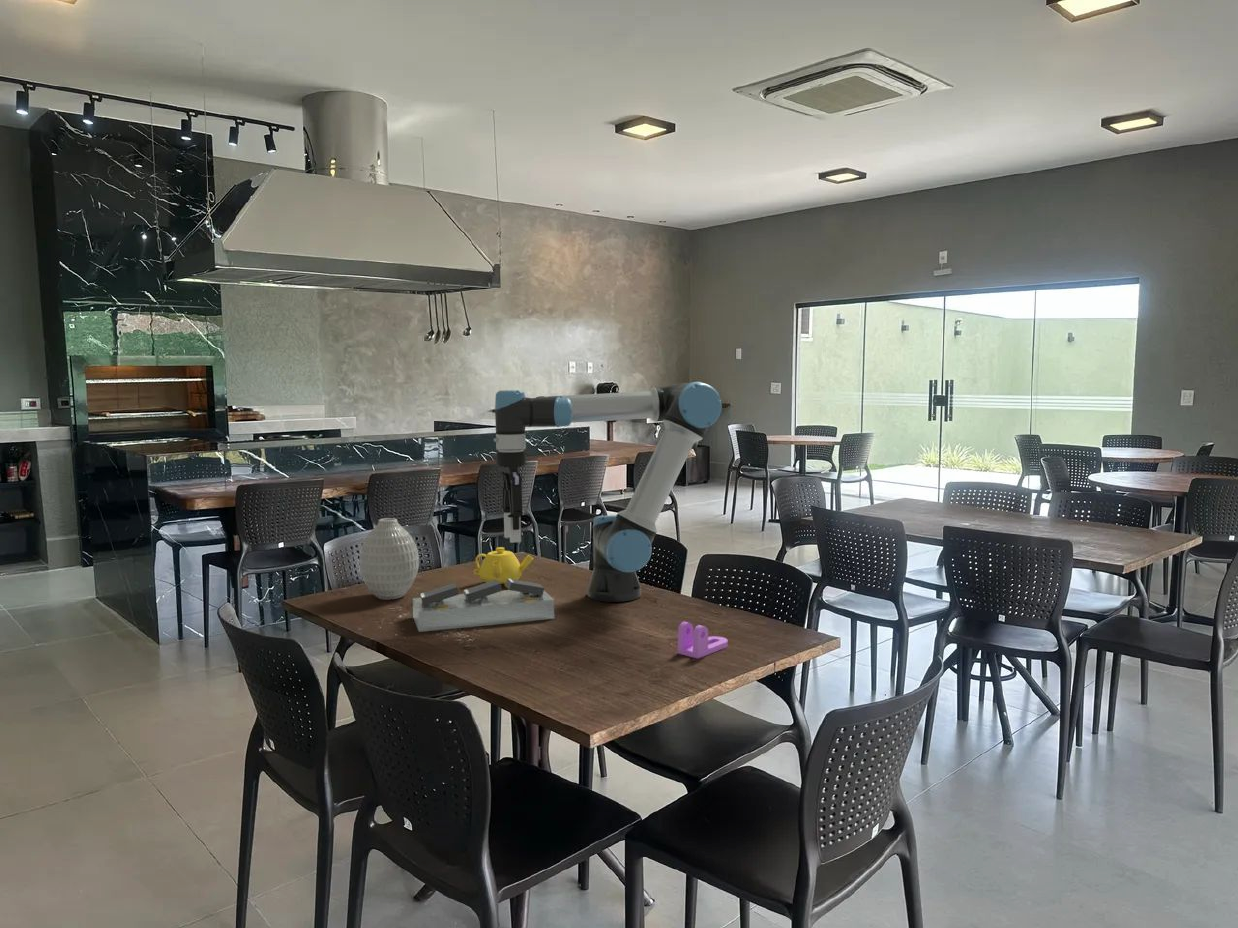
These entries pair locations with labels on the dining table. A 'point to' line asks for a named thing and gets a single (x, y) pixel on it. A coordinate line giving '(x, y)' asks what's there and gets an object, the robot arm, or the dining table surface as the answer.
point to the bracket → (698, 641)
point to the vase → (389, 560)
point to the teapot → (500, 566)
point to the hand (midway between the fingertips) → (512, 539)
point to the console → (482, 610)
